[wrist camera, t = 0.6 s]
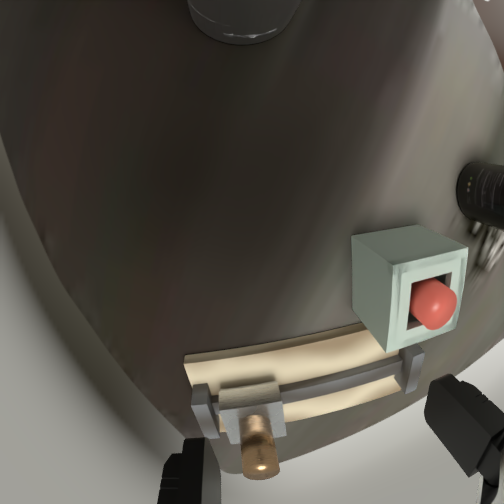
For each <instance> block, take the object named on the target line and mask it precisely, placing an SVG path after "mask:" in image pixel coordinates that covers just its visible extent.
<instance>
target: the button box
mask: <svg viewBox="0 0 504 504" xmlns="http://www.w3.org/2000/svg"><path fill="white" fill-rule="evenodd" d="M351 248H352V310H353V311H354V312H355V313H356V315H357V316H358V317H359V319H360V320H361V321H362V322H363V324H364V325H365V326H366V328H367V329H368V330H369V332H370V333H371V334H372V335H373V337H374V338H375V339H376V341H377V342H378V343H379V345H380V346H381V347H382V349H383V350H384V351H385V353H388V352H392V351H395V350H398V349H401V348H404V347H407V346H410V345H412V344H415V343H418V342H421V341H424V340H426V339H429V338H432V337H434V336H437V335H440V334H442V333H445V332H447V331H450V330H452V329H455V328H456V324H457V320H458V315H459V310H460V305H461V299H462V293H463V287H464V280H465V273H466V265H467V256H468V247H466V246H464V245H462V244H460V243H458V242H456V241H454V240H452V239H450V238H447V237H445V236H443V235H441V234H439V233H437V232H434V231H432V230H430V229H428V228H425V227H423V226H421V225H412V226H406V227H400V228H394V229H388V230H382V231H376V232H370V233H364V234H358V235H352V236H351ZM432 277H434V278H435V279H437V280H438V281H440V282H441V283H443V284H444V285H445V286H447V287H448V288H450V289H451V290H453V291H454V292H455V294H456V297H457V305H456V309H455V311H454V313H453V315H452V317H451V318H450V320H449V321H448V322H447V323H446V324H445V325H444V326H442V327H441V328H439V329H436V330H429V329H427V328H426V327H425V326H424V325H423V324H422V323H421V322H420V321H419V320H418V319H417V318H416V317H415V316H413V315H412V314H411V313H410V312H409V305H410V295H411V283H413V282H417V281H421V280H424V279H428V278H432Z"/></svg>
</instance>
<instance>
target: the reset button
mask: <svg viewBox="0 0 504 504" xmlns="http://www.w3.org/2000/svg"><path fill="white" fill-rule="evenodd" d="M456 305H457V297H456V294H455V292H454V291H453V290H451V289H450V288H448V287H447V286H445V285H444V284H443V283H441V282H440V281H438V280H437V279H435V278H434V277H432V278H428V279H424V280H421V281H417V282H413V283H411V295H410V305H409V312H410V313H411V314H412V315H413V316H415V317H416V318H417V319H418V320H419V321H420V322H421V323H422V324H423V325H424V326H425V327H426V328H427V329H429V330H436V329H439V328H441V327H442V326H444V325H445V324H446V323H447V322H448V321H449V320H450V318H451V317H452V315H453V313H454V311H455V309H456Z"/></svg>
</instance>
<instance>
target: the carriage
mask: <svg viewBox="0 0 504 504" xmlns="http://www.w3.org/2000/svg"><path fill="white" fill-rule="evenodd" d="M219 412H220V415H221V418H222V421H223V424H224V426H225V429H226V432H227V435H228V437H229V440H230V443H231V444H237V443H240V445H241V456H242V467H243V475H244V476H245V477H246V478H248V479H252V480H264V479H269V478H272V477H274V476H276V475H277V474H278V473H279V472H280V468H279V463H278V458H277V452H276V447H275V442H274V438H277V437H282V436H287V435H286V427H285V420H284V412H283V404H282V399H281V394H280V390H279V386H278V382H277V380H276V381H271V382H265V383H259V384H253V385H247V386H241V387H234V388H226V389H220V391H219Z"/></svg>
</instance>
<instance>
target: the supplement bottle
mask: <svg viewBox="0 0 504 504" xmlns="http://www.w3.org/2000/svg"><path fill="white" fill-rule="evenodd" d="M457 197H458V202H459V205H460V208H461V210H462V212H463V213H464V214H465V215H466V216H467V217H468V218H469V219H472V220H474V221H477V222H479V223H482V224H485V225H488V226H490V227H493V228H496V229H498V230H501V231H503V232H504V166H503V165H496V164H488V163H479V162H474V163H471V164H469V165H468V166H466V167H465V169H464V170H463V171H462V173H461V175H460V178H459V181H458V187H457Z"/></svg>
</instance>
